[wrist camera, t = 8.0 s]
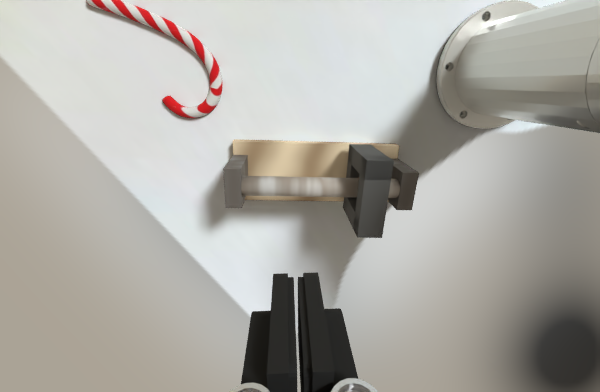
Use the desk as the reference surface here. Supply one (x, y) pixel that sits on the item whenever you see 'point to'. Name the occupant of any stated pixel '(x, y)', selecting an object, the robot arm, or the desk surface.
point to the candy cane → (113, 4)
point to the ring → (368, 189)
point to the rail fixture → (305, 173)
